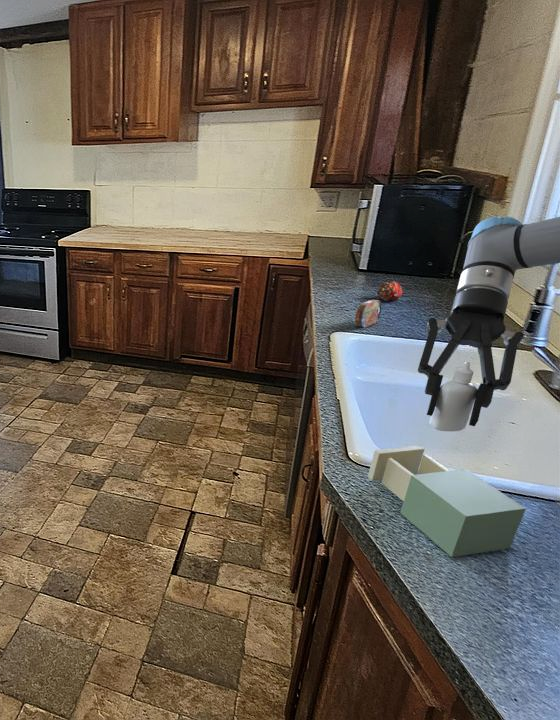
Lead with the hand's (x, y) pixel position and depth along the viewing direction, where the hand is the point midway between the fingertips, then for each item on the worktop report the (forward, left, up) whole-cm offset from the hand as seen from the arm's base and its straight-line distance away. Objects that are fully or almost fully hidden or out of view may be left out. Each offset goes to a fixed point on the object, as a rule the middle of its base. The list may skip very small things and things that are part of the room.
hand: (451, 417), depth 86 cm
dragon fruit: (-90, -119, -18) cm, 150 cm away
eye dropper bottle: (-3, -3, -4) cm, 5 cm away
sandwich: (-59, -92, -18) cm, 110 cm away
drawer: (0, -4, -16) cm, 17 cm away
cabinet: (0, +6, -17) cm, 19 cm away
